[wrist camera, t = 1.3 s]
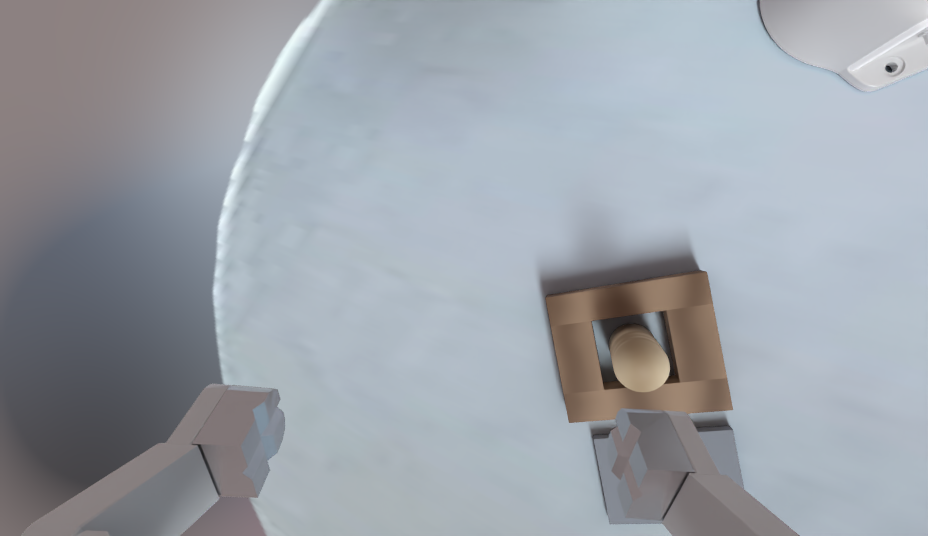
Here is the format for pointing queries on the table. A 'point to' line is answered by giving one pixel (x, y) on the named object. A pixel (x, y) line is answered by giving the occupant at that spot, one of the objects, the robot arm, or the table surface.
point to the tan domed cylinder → (638, 358)
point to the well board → (688, 335)
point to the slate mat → (716, 443)
